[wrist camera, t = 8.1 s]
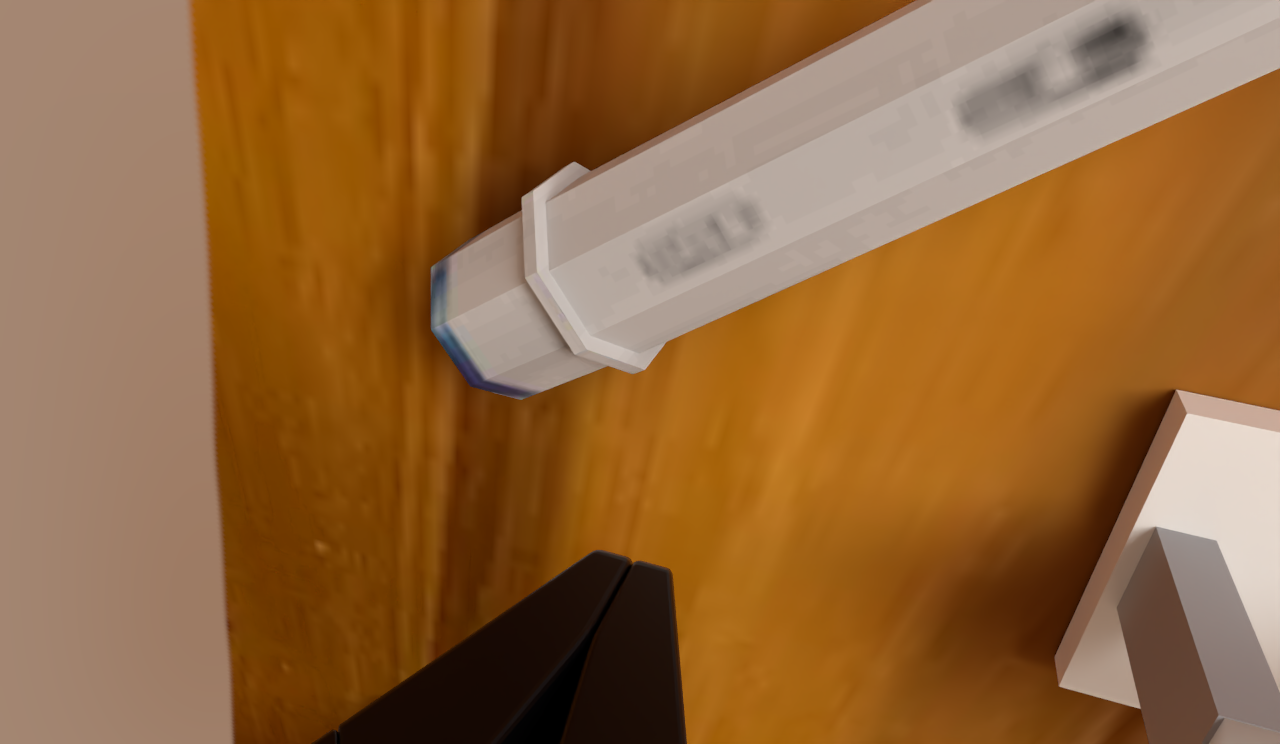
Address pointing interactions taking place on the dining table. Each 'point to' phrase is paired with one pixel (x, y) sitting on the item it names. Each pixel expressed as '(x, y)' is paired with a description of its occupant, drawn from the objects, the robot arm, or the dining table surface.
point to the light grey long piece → (823, 172)
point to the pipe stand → (1191, 583)
